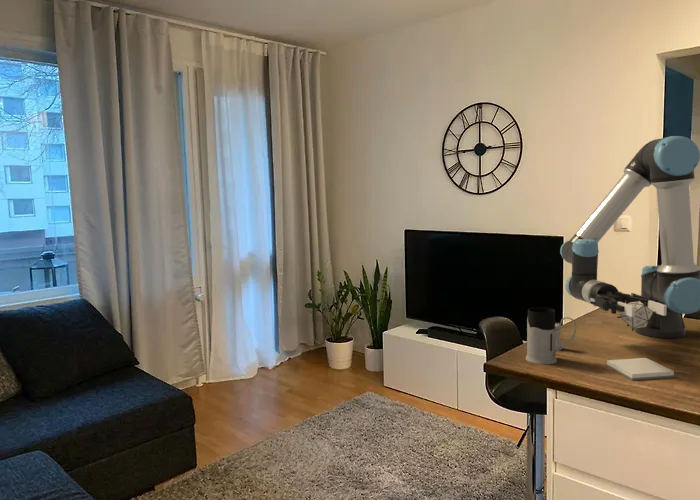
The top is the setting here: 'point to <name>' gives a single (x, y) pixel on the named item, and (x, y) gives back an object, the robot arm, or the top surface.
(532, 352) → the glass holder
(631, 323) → the game die
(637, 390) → the top surface
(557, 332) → the rook chess piece
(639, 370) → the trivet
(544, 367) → the top surface
